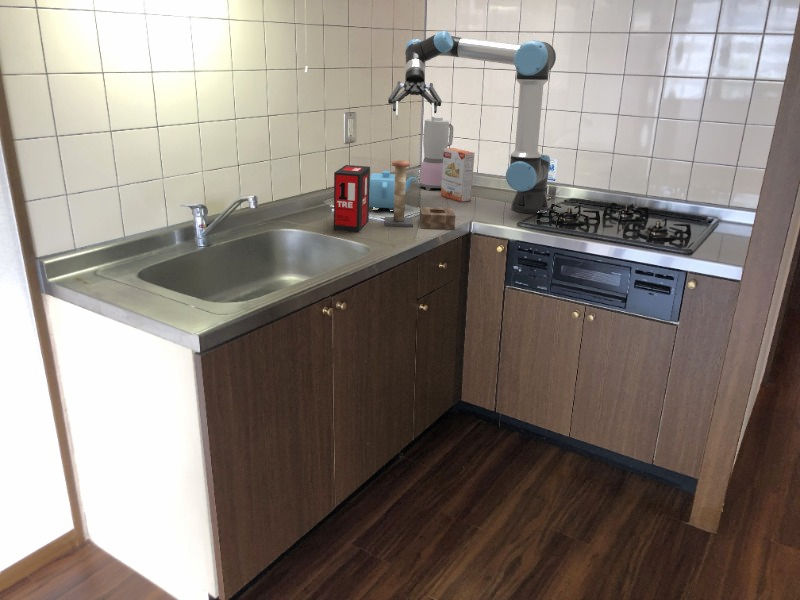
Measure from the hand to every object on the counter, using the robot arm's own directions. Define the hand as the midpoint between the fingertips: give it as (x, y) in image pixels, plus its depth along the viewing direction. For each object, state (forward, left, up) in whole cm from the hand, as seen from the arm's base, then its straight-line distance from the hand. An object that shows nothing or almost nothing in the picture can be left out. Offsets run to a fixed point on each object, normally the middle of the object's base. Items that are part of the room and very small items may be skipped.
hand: (414, 118), depth 246 cm
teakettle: (+10, -4, -36) cm, 38 cm away
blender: (-14, -49, -36) cm, 63 cm away
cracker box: (-21, -27, -36) cm, 50 cm away
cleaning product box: (+22, +26, -36) cm, 49 cm away
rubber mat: (+5, +20, -36) cm, 41 cm away
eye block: (-9, +20, -36) cm, 42 cm away
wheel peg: (+5, +20, -35) cm, 40 cm away
